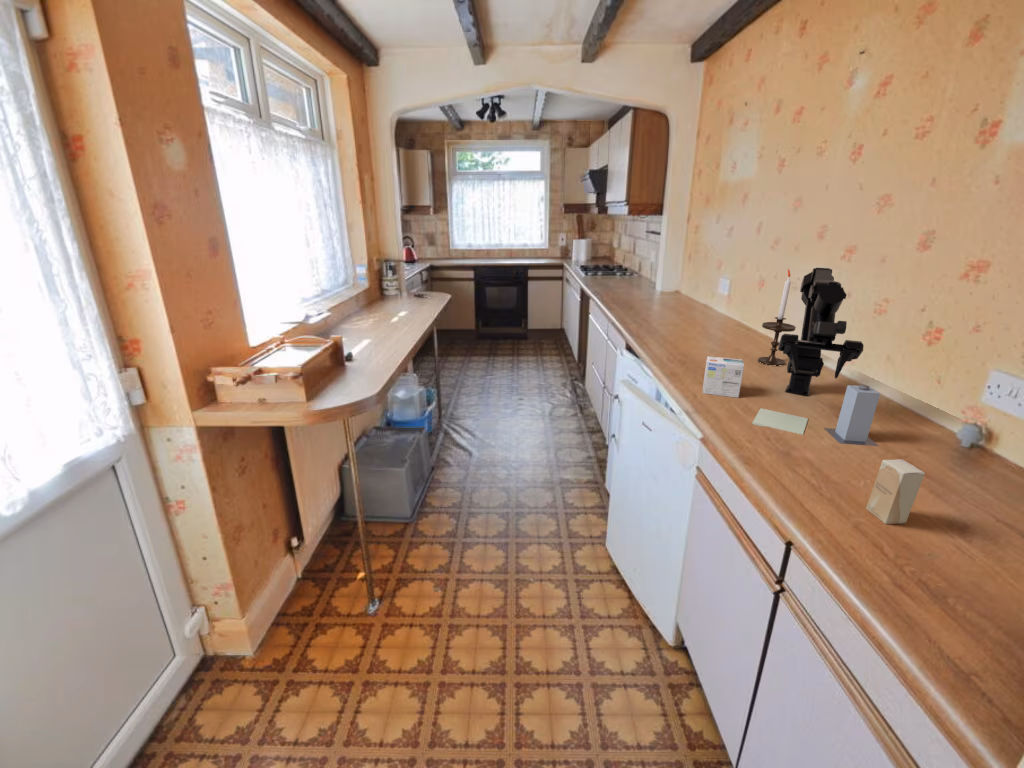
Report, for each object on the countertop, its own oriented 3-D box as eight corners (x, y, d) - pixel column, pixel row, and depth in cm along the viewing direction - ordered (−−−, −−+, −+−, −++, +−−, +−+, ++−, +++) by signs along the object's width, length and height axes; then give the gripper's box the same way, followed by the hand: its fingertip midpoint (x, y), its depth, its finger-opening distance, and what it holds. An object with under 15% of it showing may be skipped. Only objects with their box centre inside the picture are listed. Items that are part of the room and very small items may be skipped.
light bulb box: (737, 391, 155) (743, 358, 151) (739, 398, 149) (745, 365, 145) (701, 386, 158) (706, 355, 154) (702, 393, 152) (707, 361, 148)
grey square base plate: (822, 429, 129) (826, 417, 128) (859, 431, 128) (863, 419, 126) (839, 444, 120) (842, 432, 119) (878, 447, 119) (882, 435, 118)
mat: (760, 410, 140) (760, 408, 140) (807, 420, 134) (808, 418, 134) (752, 424, 131) (752, 422, 131) (802, 436, 125) (803, 433, 124)
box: (864, 508, 95) (880, 458, 91) (885, 507, 95) (901, 457, 91) (886, 525, 90) (904, 473, 86) (908, 524, 90) (926, 472, 86)
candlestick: (751, 362, 183) (770, 268, 171) (760, 356, 191) (777, 265, 179) (783, 368, 177) (804, 271, 164) (790, 362, 184) (811, 268, 172)
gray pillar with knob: (835, 431, 126) (848, 382, 122) (855, 433, 126) (870, 383, 121) (844, 440, 122) (858, 389, 117) (866, 441, 121) (881, 390, 116)
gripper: (788, 304, 129) (780, 357, 124) (872, 311, 121) (867, 367, 117) (781, 324, 138) (774, 374, 134) (859, 332, 131) (854, 385, 127)
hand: (815, 375), depth 128 cm, fingers open, 9 cm apart
